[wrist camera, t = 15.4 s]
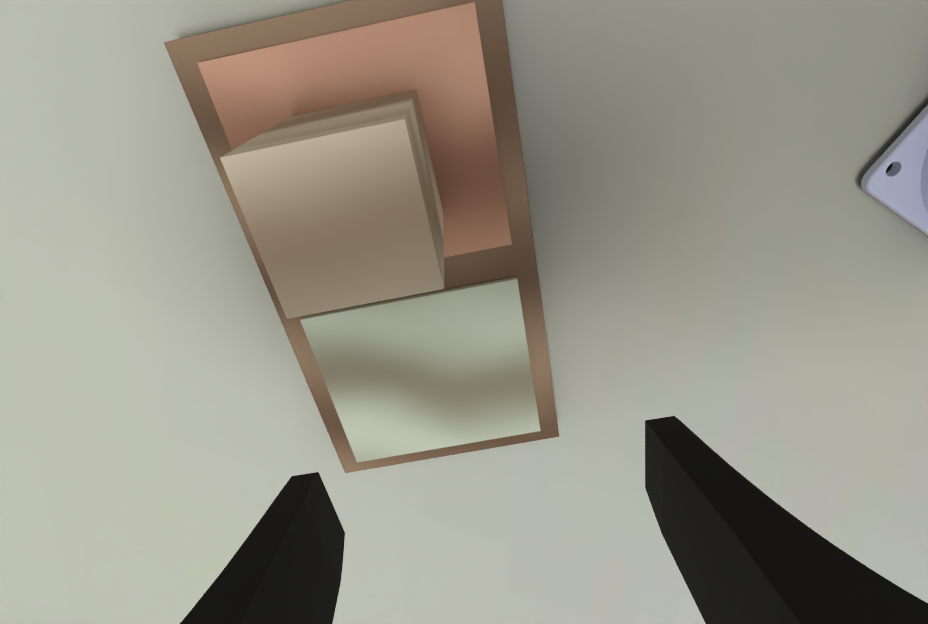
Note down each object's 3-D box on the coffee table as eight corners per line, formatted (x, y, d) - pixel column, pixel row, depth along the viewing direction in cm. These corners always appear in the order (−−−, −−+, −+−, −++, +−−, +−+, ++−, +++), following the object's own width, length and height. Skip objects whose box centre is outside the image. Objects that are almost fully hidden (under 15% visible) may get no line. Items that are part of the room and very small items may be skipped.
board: (179, 41, 16) (160, 42, 15) (494, -29, 15) (498, -33, 14) (348, 457, 25) (344, 476, 24) (554, 421, 24) (560, 439, 23)
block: (292, 115, 16) (219, 157, 11) (416, 89, 16) (404, 118, 11) (331, 234, 18) (286, 318, 13) (442, 212, 18) (444, 289, 13)
